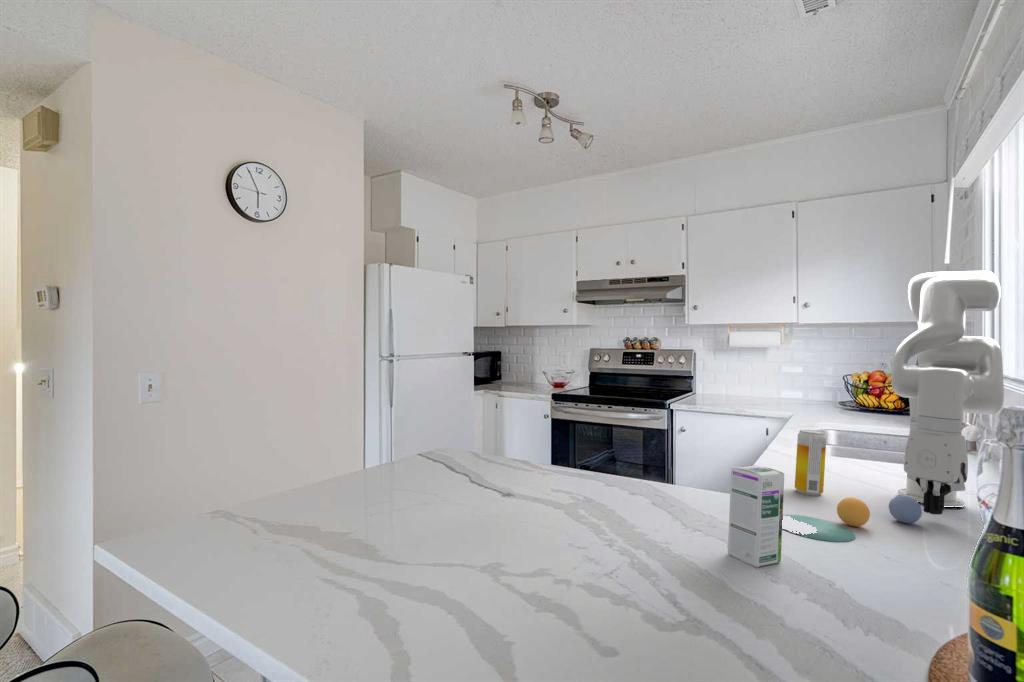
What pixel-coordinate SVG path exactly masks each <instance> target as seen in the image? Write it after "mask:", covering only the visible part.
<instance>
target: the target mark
mask: <svg viewBox="0 0 1024 682" xmlns="http://www.w3.org/2000/svg"><path fill="white" fill-rule="evenodd" d="M785 515H786V516H790V517H791V518H793V520H794V519H795V520H797V521H799V522H801V521H802V522H804V523H807V525H808V524H809V525H812V527H816V529H817V531H816V532H817V533H814V534H813V533H811V534H807V535H806V534H804V535H803V536H807V537H810V538H809V539H812V538H814V539H813V540H817V539H819V540H818V541H823V540H825V541H824V542H831V541H832V542H831V543H833V542H835V543H844V542H845V543H847V542H852V541H854V540H855V539H856V538H857V537H856V534H855V532H854V531H852V530H850V528H847V527H845V526H843V525H841V524H838V523H836V522H832V521H829V520H826V519H821V518H819V517H818V518H817V517H813V516H806V515H798V514H785ZM792 532H793V531H792ZM796 532H797V531H796ZM796 534H797V533H796ZM796 534H795V535H796ZM799 534H800V535H802V534H801V533H800V532H799ZM800 535H799V536H800ZM803 536H802V537H803ZM807 537H806V538H807Z"/></svg>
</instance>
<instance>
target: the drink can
mask: <svg viewBox="0 0 1024 682" xmlns="http://www.w3.org/2000/svg"><path fill="white" fill-rule="evenodd" d="M796 441H797V443H796V456H795V457H796V458H795V476H794V477H795V478H794V488H795V489H796V491H797V492H798V494H799V493H800V494H803V495H806V496H811V497H812V496H815V497H818V496H821V494H822V493H824V486H825V485H824V483H825V466H826V452H827V436H826V432H824V431H820V430H813V429H799V431H798V433H797V440H796Z"/></svg>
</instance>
